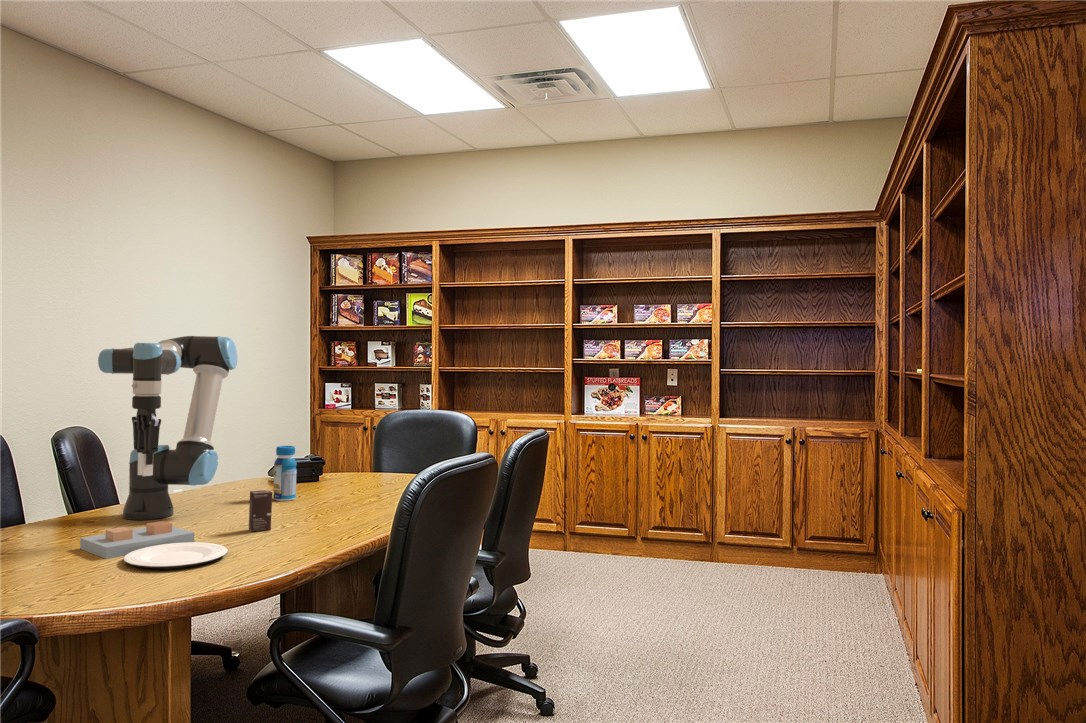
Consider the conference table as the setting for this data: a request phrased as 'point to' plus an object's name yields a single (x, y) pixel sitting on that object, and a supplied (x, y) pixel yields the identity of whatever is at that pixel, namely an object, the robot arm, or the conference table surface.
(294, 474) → the beverage bottle
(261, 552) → the conference table surface
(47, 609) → the conference table surface
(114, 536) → the tile
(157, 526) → the tile
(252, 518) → the box
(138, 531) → the board
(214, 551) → the plate
